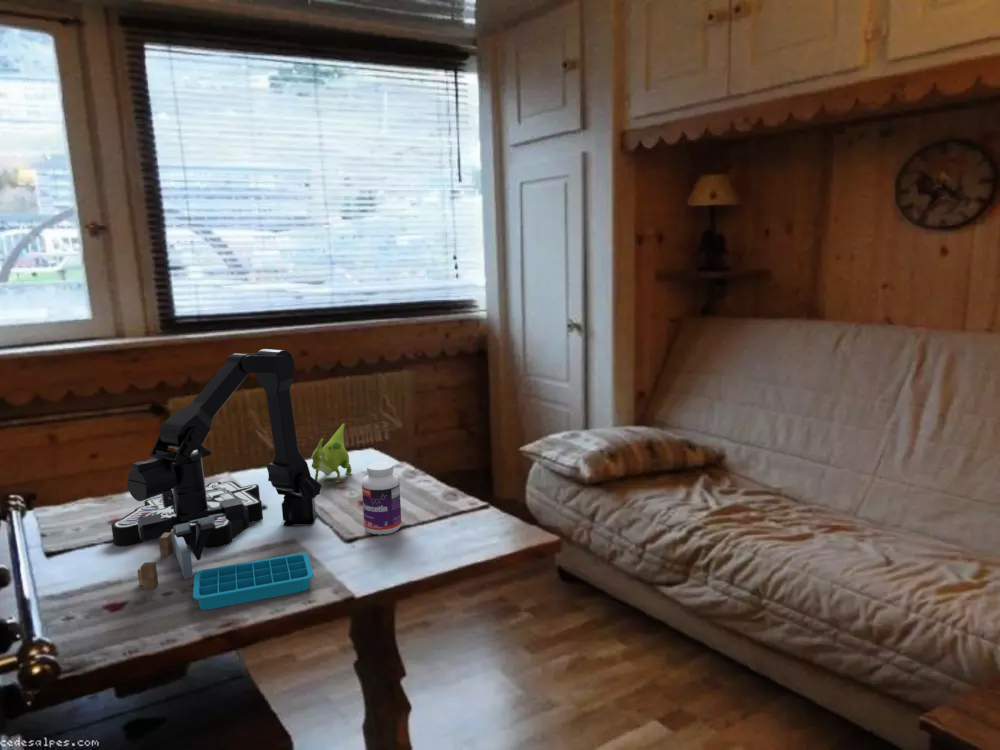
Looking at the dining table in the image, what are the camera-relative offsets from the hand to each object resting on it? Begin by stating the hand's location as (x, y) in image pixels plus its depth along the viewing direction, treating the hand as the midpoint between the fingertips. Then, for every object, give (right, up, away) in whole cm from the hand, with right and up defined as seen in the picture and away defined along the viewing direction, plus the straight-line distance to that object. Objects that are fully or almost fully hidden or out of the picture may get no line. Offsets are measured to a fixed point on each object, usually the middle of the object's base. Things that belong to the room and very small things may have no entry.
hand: (198, 559), depth 138 cm
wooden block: (-6, -3, -6) cm, 9 cm away
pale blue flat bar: (-4, -1, +2) cm, 5 cm away
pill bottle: (+33, +2, +17) cm, 37 cm away
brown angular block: (-9, -1, +7) cm, 12 cm away
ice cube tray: (+14, -3, -8) cm, 17 cm away
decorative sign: (-10, +2, +25) cm, 27 cm away
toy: (+14, +8, +52) cm, 54 cm away
